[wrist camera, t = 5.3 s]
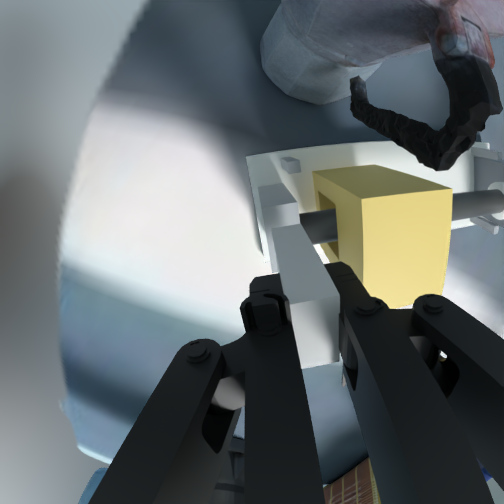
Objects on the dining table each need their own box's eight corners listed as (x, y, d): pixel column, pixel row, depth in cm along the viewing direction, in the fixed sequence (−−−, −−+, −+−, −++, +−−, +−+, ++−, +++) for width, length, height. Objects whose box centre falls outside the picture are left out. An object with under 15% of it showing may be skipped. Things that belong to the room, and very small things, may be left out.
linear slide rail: (264, 257, 25) (273, 338, 15) (245, 156, 21) (242, 170, 11) (481, 219, 23) (546, 257, 13) (482, 142, 20) (556, 159, 10)
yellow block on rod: (320, 245, 21) (361, 316, 12) (311, 171, 19) (361, 199, 10) (378, 235, 21) (441, 295, 12) (374, 164, 18) (452, 188, 10)
